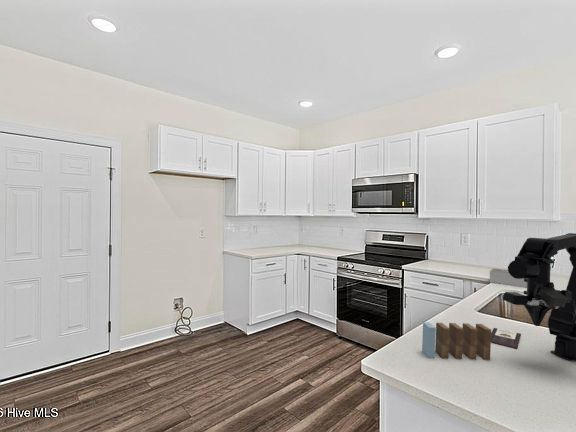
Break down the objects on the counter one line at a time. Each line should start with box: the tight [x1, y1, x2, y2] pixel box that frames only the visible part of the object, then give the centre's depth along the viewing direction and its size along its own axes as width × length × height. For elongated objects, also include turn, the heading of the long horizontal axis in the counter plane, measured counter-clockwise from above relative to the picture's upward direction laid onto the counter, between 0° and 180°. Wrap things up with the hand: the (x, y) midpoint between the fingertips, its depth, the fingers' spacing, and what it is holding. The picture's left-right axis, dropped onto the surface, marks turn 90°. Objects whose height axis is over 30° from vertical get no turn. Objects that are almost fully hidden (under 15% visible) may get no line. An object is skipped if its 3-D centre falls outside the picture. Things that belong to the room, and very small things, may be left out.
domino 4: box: [462, 322, 477, 361], centre depth 104 cm, size 2×5×10 cm, turn 179°
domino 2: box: [435, 322, 450, 360], centre depth 104 cm, size 2×5×10 cm, turn 179°
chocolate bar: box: [491, 327, 522, 350], centre depth 120 cm, size 9×1×18 cm
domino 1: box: [421, 321, 436, 359], centre depth 104 cm, size 2×5×10 cm, turn 179°
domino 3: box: [448, 322, 463, 360], centre depth 104 cm, size 2×5×10 cm, turn 179°
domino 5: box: [475, 323, 492, 361], centre depth 104 cm, size 2×5×10 cm, turn 179°
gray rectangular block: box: [489, 267, 527, 289], centre depth 219 cm, size 17×28×9 cm, turn 50°
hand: (536, 325), depth 100 cm, fingers closed
